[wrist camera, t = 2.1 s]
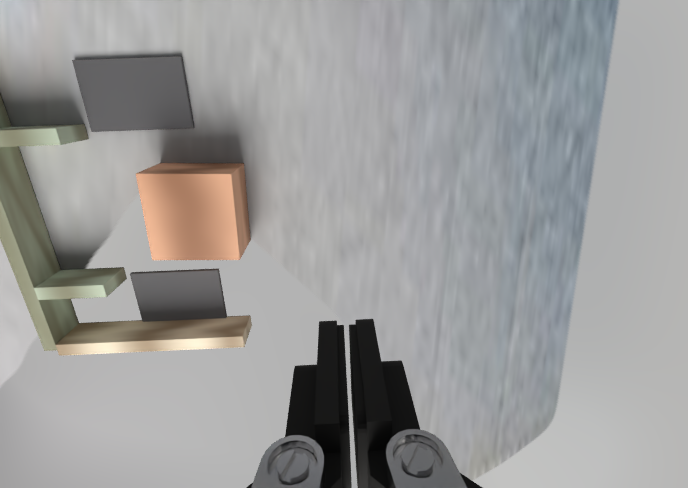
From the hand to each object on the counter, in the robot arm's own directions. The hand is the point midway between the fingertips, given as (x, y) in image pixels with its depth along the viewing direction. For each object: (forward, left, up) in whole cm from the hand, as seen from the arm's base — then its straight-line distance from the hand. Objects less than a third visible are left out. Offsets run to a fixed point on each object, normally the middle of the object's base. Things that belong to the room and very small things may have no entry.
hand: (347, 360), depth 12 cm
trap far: (+13, +8, -19) cm, 24 cm away
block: (+10, 0, -19) cm, 21 cm away
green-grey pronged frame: (+15, 0, -19) cm, 24 cm away
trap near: (+13, -8, -19) cm, 24 cm away
